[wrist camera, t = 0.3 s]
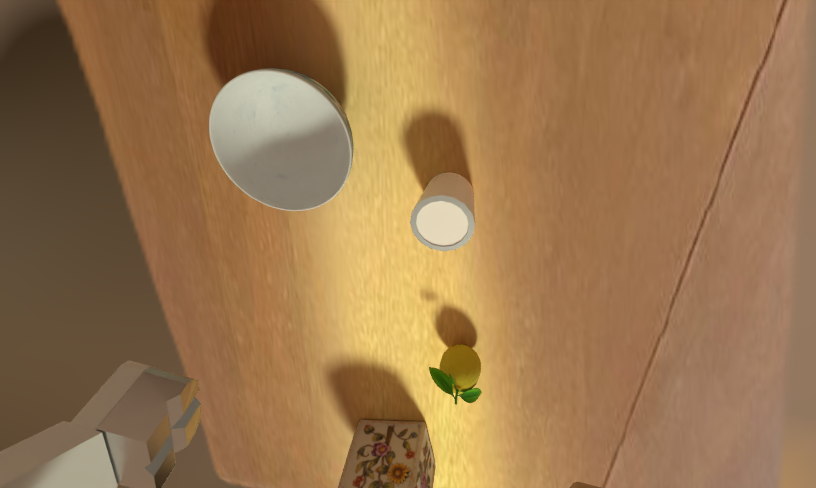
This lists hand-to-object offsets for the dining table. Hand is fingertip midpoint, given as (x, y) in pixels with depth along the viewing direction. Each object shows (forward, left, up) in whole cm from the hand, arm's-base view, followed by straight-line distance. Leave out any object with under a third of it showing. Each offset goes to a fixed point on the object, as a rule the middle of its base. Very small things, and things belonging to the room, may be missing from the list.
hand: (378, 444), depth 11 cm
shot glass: (+19, +1, -47) cm, 50 cm away
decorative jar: (+67, +5, -47) cm, 82 cm away
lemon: (+42, +9, -47) cm, 63 cm away
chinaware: (+15, -17, -47) cm, 52 cm away
